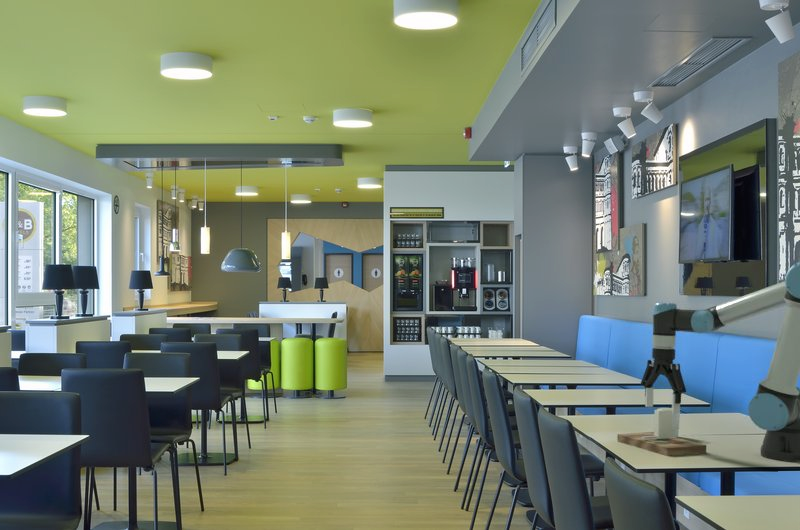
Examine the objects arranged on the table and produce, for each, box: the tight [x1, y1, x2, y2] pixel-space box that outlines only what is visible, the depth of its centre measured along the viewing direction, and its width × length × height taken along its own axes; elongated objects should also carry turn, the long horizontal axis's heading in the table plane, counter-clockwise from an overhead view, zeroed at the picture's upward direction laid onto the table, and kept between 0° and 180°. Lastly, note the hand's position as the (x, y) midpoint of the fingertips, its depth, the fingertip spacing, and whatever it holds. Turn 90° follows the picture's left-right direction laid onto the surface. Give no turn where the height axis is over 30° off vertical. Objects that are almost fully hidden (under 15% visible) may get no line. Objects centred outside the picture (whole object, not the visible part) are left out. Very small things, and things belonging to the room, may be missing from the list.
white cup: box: [657, 407, 681, 438], centre depth 304 cm, size 8×8×10 cm
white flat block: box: [642, 409, 672, 439], centre depth 284 cm, size 2×11×10 cm, turn 112°
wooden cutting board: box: [616, 431, 707, 457], centre depth 284 cm, size 26×16×3 cm, turn 22°
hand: (662, 409), depth 285 cm, fingers open, 13 cm apart
